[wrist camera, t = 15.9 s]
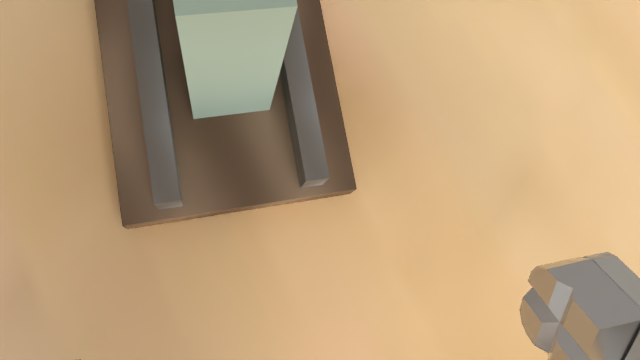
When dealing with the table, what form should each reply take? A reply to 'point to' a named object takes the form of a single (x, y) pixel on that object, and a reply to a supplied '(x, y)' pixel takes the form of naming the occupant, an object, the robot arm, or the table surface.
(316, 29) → the rail base
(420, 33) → the table surface
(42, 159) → the table surface
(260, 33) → the block
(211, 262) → the table surface
